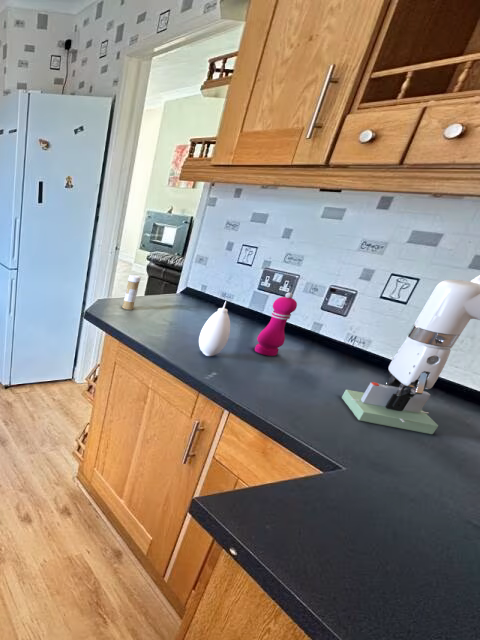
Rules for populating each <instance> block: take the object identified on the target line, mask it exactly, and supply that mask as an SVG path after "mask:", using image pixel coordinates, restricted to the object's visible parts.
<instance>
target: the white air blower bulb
mask: <svg viewBox="0 0 480 640" xmlns="http://www.w3.org/2000/svg"><path fill="white" fill-rule="evenodd" d="M226 305H227V300H225V302H224V304H223V306H222V307H219V308H218V309H217V311H215V312H213V313H212V314H211V315H210V316H209V318H208V319H207V320H206V321H205V323H204V325H203V326H202V328H201V330H200V333H199V335H198V347H199V350H200V351H201V352H202V354H203V355H205V356H207V357H213V356H215V355H218V354H220V352H221V351H222V350H224V349H225V347H226V345H227V344H228V341H229V338H230V334H231V321H230V320H231V319H230V315H229V313H228V312H229V311H228V309H227V308H226Z"/></svg>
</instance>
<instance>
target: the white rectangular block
mask: <svg viewBox="0 0 480 640" xmlns="http://www.w3.org/2000/svg"><path fill="white" fill-rule="evenodd" d="M398 388H399V387H394V386H388V385H386V384H381V383H378V382H375V381H372V382H369V384H368V385H367V388H366V390H365V391H364V392H363V393H364V395H363V397H362V398H361V401H362V402H363V403H368V404H373V405H379V406H384V407H385V406H386V405H387V403H388V401H389V400H390V398H391V396H392V395H393V394H396V392H397V390H398ZM405 389H407V387H405ZM405 389H404V390H405ZM431 396H432V394H430V393H429V392H427V391H425V390H423V394H422V395H415V396H414V397H413V398H410V400H409V402H408V403H407V405H406V406H405V408H404V409H403V410H407V411H412V412H418V413H419V412H420V411H421V409H422V410H423V408H424V406H425V405H426V403H427V401H428V400H429V399H430V398H431Z"/></svg>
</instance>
